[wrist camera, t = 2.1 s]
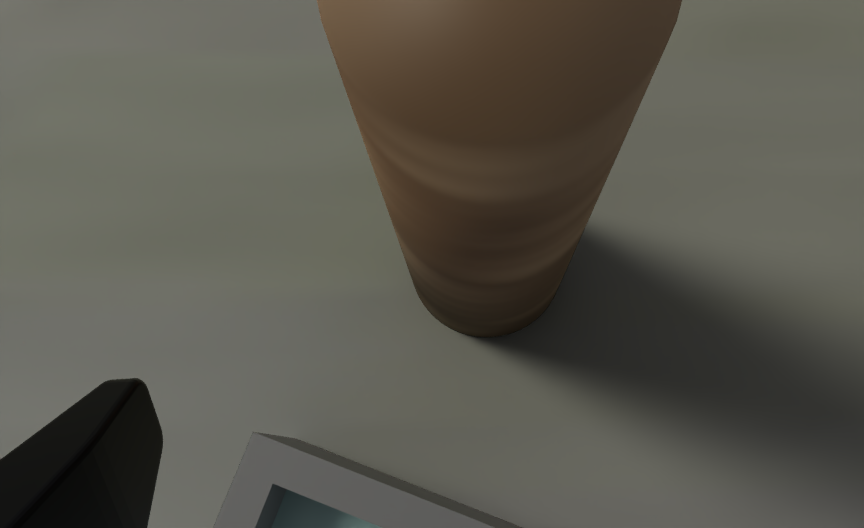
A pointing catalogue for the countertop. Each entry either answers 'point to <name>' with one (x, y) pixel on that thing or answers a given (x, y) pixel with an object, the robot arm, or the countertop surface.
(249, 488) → the peg box
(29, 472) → the robot arm
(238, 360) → the countertop surface
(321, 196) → the countertop surface
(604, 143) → the walnut peg
